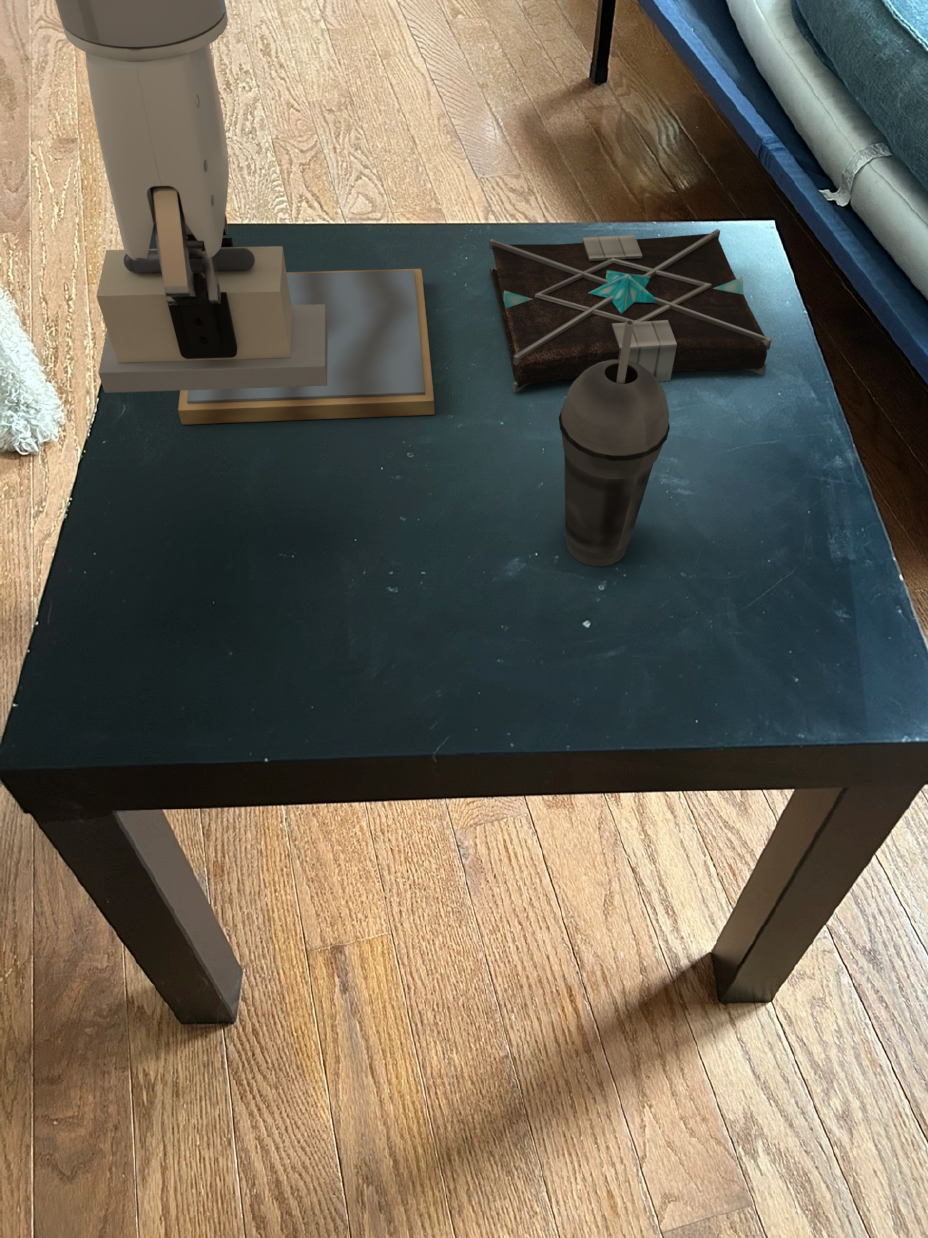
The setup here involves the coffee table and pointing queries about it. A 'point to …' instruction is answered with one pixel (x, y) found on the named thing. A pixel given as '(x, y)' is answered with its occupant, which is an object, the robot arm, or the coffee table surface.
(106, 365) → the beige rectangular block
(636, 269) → the book
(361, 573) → the coffee table surface
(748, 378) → the coffee table surface
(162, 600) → the coffee table surface
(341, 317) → the board
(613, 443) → the beverage cup
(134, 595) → the coffee table surface
